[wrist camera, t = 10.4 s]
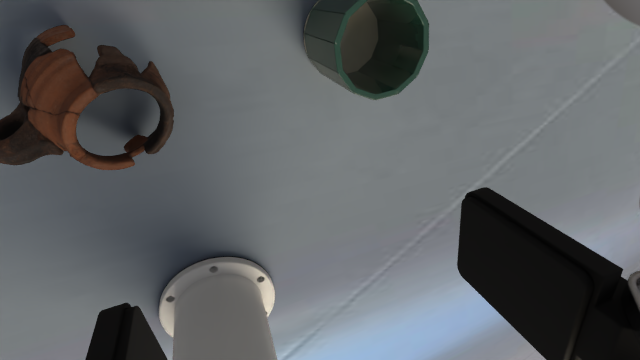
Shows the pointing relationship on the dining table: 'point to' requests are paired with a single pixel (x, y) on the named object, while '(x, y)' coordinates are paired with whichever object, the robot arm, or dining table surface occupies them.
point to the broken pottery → (75, 103)
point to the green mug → (368, 44)
